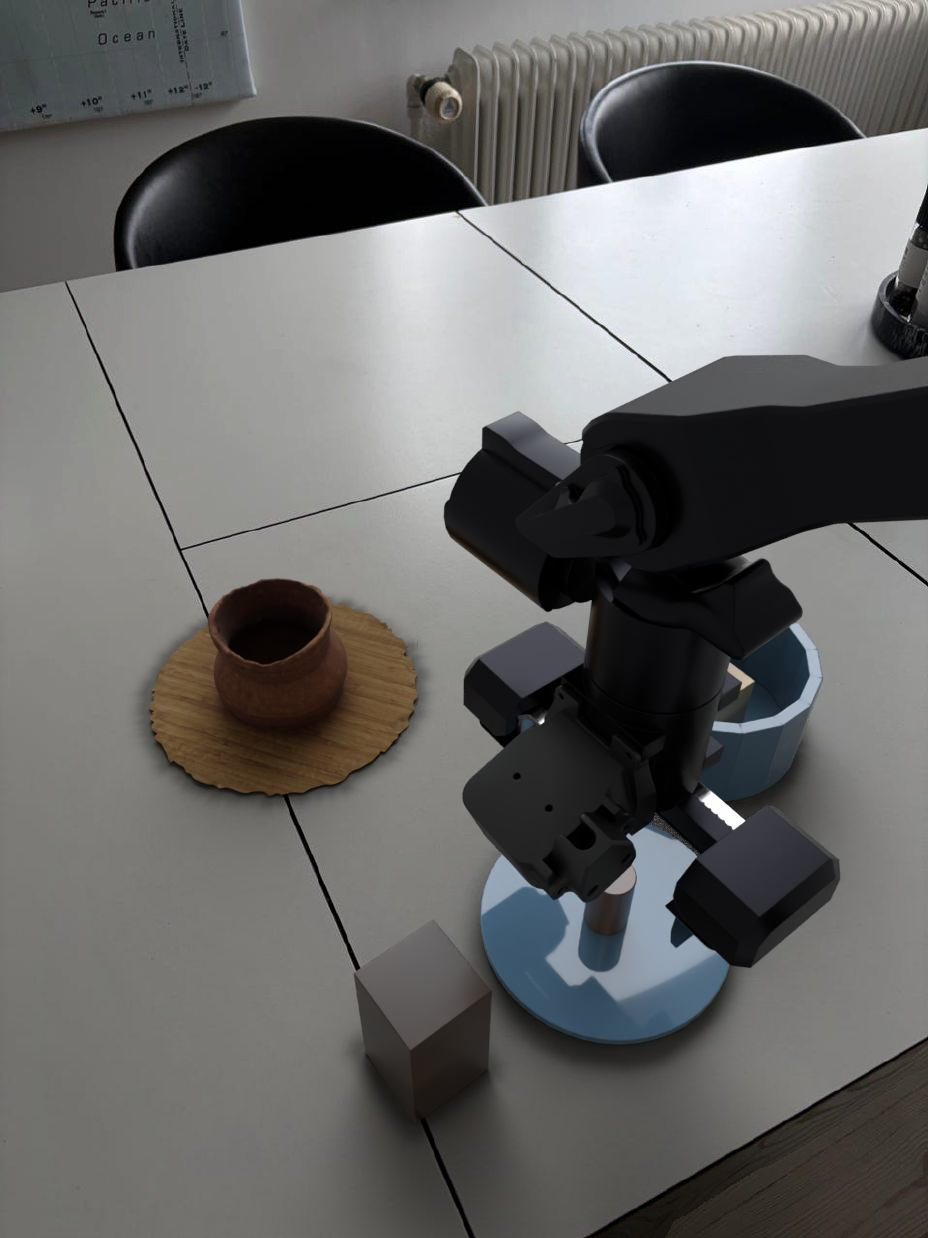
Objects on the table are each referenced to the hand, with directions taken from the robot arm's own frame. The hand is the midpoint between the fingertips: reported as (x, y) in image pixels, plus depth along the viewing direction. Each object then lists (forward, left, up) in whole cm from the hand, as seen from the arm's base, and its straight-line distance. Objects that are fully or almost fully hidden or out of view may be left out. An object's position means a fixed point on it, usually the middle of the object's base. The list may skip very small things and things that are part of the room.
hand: (614, 875), depth 52 cm
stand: (0, +12, -5) cm, 13 cm away
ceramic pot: (+26, +5, -5) cm, 27 cm away
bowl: (+7, -15, -5) cm, 17 cm away
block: (+7, -15, -5) cm, 17 cm away
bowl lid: (0, 0, -4) cm, 5 cm away
